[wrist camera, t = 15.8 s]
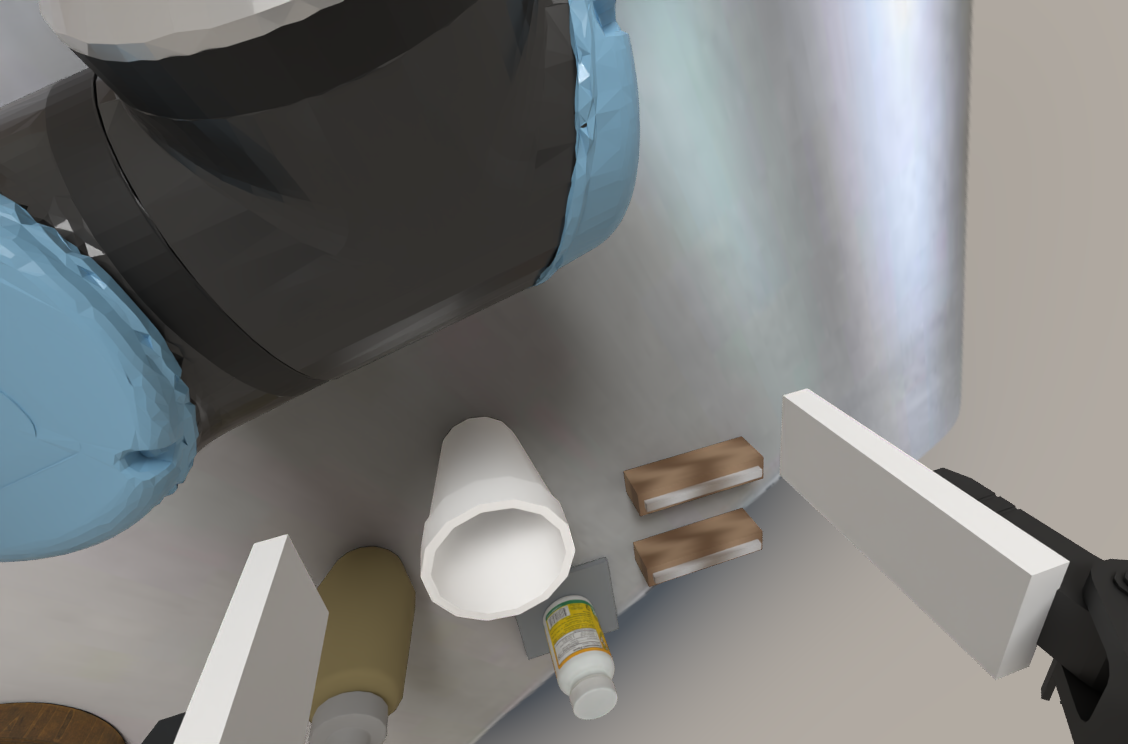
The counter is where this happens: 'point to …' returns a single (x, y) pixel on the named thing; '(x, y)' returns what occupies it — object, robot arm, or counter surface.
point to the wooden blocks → (688, 482)
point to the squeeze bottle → (362, 647)
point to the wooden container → (52, 725)
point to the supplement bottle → (580, 656)
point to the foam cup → (492, 527)
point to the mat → (580, 581)
